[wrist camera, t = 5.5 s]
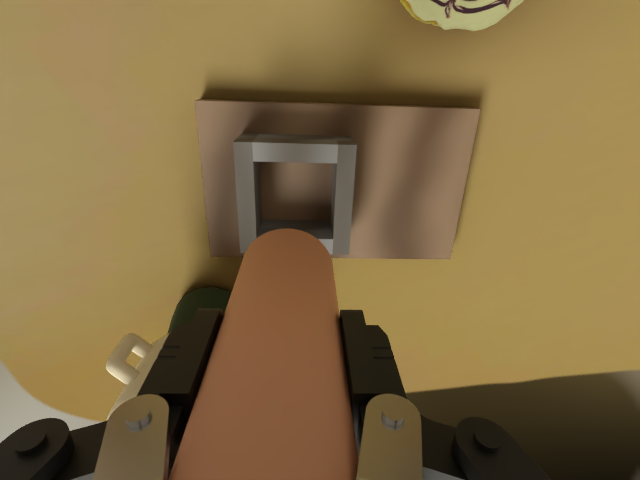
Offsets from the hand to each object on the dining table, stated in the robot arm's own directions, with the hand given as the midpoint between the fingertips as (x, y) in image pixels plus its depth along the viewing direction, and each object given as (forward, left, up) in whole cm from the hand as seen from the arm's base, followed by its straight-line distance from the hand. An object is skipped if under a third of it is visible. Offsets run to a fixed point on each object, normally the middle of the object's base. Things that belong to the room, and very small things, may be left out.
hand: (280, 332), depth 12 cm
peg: (0, 0, -4) cm, 4 cm away
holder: (-3, 0, -19) cm, 19 cm away
